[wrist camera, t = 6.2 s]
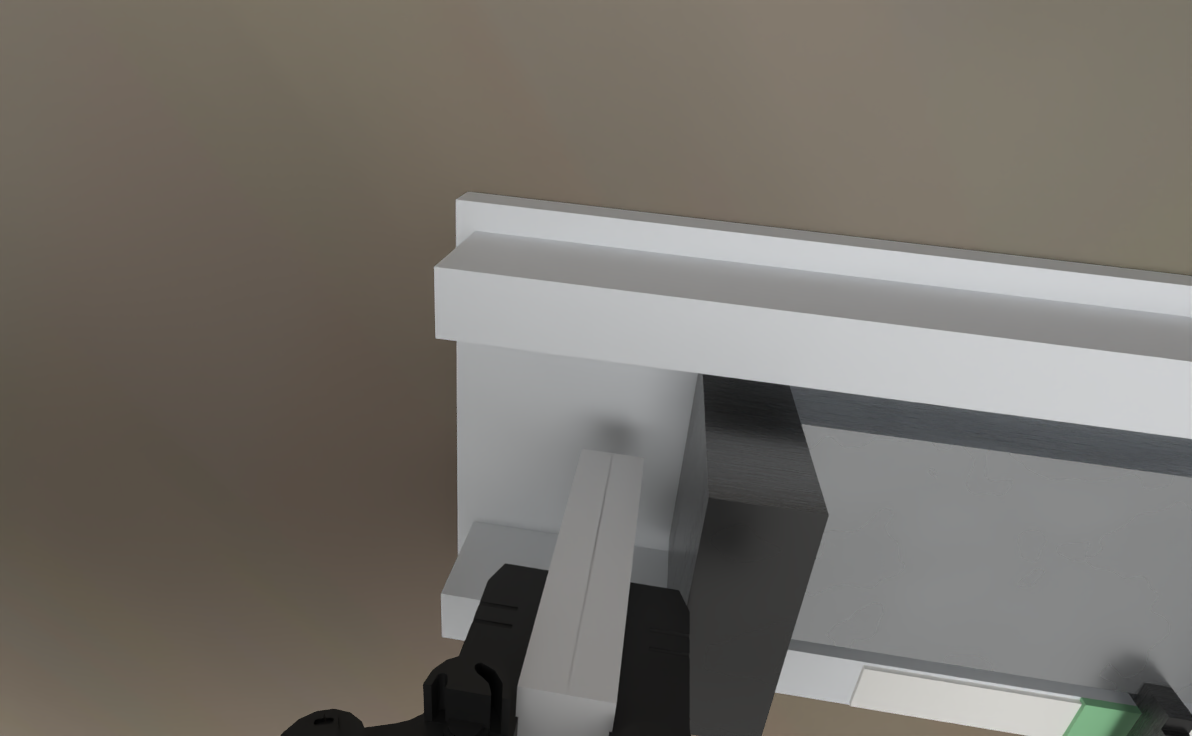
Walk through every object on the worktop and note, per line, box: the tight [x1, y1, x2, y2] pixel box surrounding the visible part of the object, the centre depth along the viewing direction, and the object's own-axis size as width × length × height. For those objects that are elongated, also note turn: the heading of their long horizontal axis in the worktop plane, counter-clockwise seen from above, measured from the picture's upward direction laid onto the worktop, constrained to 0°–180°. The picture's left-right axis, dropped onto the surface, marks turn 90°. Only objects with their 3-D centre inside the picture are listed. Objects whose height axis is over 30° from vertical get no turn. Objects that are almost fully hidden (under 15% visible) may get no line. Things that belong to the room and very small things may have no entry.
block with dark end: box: [667, 373, 1192, 736], centre depth 15 cm, size 13×9×6 cm
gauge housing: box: [434, 192, 1192, 736], centre depth 16 cm, size 24×12×7 cm, turn 85°
